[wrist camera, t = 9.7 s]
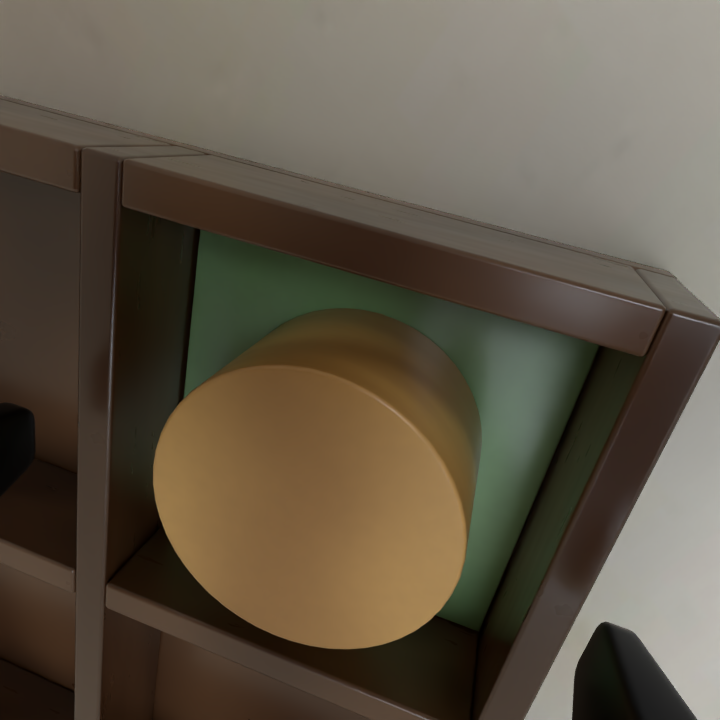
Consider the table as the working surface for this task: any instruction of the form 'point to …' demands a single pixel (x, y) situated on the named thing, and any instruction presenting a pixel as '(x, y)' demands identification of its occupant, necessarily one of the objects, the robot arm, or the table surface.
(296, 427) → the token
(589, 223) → the table surface
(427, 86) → the table surface
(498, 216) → the table surface
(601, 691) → the robot arm
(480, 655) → the compartment tray
